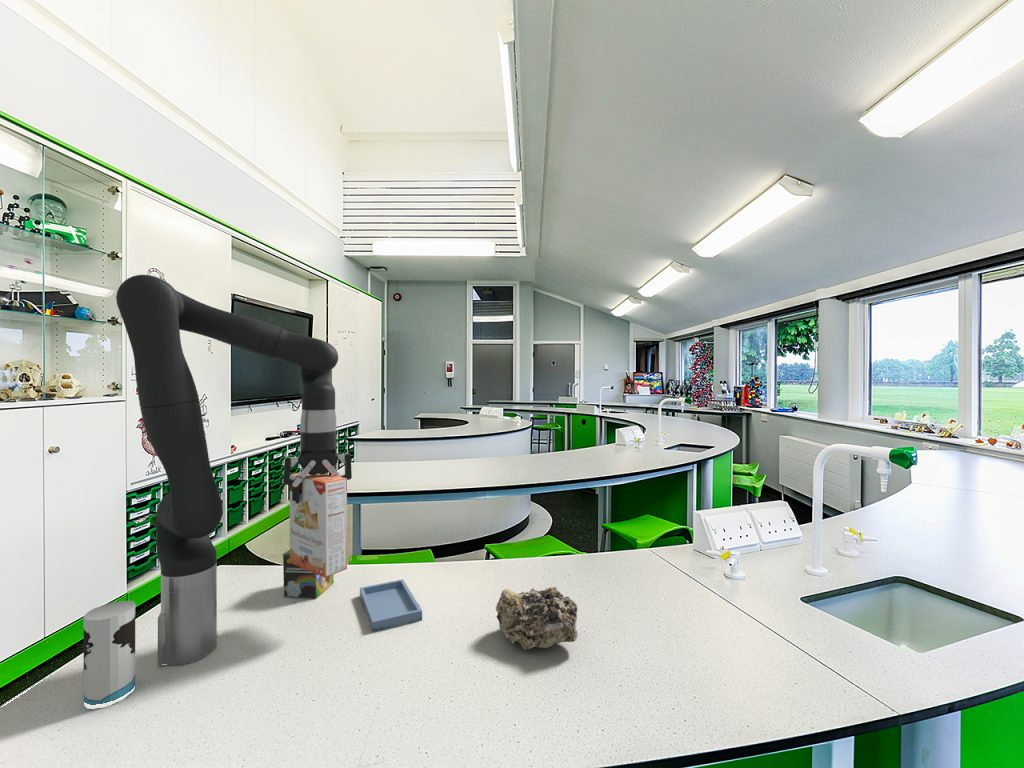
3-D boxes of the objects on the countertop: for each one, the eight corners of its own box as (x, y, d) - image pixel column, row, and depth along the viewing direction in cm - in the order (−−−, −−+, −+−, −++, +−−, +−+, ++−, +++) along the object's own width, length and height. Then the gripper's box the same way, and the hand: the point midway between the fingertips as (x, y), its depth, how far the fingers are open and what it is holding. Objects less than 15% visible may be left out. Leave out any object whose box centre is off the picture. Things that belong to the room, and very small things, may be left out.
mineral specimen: (576, 663, 87) (576, 612, 87) (488, 652, 91) (488, 603, 91) (580, 621, 102) (580, 578, 102) (504, 613, 106) (504, 571, 106)
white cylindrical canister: (144, 681, 82) (144, 599, 82) (115, 708, 75) (115, 619, 75) (104, 684, 81) (104, 601, 81) (72, 711, 74) (72, 621, 74)
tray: (372, 632, 98) (372, 622, 98) (359, 596, 115) (359, 587, 115) (422, 620, 103) (422, 610, 103) (403, 587, 120) (403, 579, 120)
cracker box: (287, 564, 103) (288, 474, 103) (312, 556, 108) (312, 470, 108) (323, 579, 95) (323, 481, 95) (348, 569, 100) (348, 476, 100)
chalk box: (334, 583, 122) (334, 529, 122) (316, 599, 113) (316, 541, 113) (302, 582, 123) (302, 528, 123) (281, 597, 114) (281, 539, 114)
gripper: (283, 432, 95) (282, 508, 95) (353, 429, 102) (353, 501, 101) (283, 429, 102) (283, 500, 102) (349, 427, 108) (349, 494, 108)
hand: (318, 500), depth 102 cm, fingers closed on cracker box, 8 cm apart
